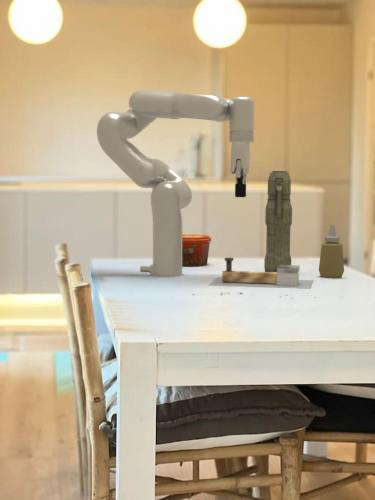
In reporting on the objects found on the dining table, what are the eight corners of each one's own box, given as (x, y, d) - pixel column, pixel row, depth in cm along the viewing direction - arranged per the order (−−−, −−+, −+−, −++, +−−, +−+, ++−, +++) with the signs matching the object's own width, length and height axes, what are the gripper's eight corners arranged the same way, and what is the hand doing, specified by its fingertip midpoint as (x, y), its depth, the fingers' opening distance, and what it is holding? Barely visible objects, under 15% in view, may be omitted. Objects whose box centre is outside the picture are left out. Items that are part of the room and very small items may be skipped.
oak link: (221, 281, 264) (221, 258, 263) (223, 280, 268) (223, 257, 267) (297, 284, 259) (297, 260, 258) (298, 282, 263) (299, 259, 262)
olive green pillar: (266, 278, 287) (268, 171, 283) (262, 273, 298) (263, 170, 295) (293, 278, 287) (295, 171, 284) (288, 273, 299) (289, 171, 295)
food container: (171, 261, 333) (171, 233, 332) (213, 262, 331) (213, 234, 330) (164, 266, 317) (164, 237, 316) (208, 267, 315) (208, 238, 314)
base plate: (207, 290, 259) (207, 285, 259) (218, 281, 278) (218, 277, 277) (309, 293, 253) (310, 288, 253) (313, 285, 272) (313, 280, 272)
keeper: (276, 285, 259) (277, 267, 258) (279, 282, 267) (279, 264, 266) (297, 286, 258) (297, 268, 257) (299, 282, 265) (299, 265, 265)
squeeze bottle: (343, 283, 276) (345, 226, 274) (317, 282, 277) (319, 226, 276) (344, 280, 284) (345, 224, 282) (319, 279, 285) (320, 224, 283)
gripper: (232, 138, 278) (232, 196, 280) (225, 136, 263) (224, 197, 265) (256, 138, 276) (255, 196, 278) (250, 136, 262) (249, 198, 264)
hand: (240, 196), depth 272 cm, fingers closed
